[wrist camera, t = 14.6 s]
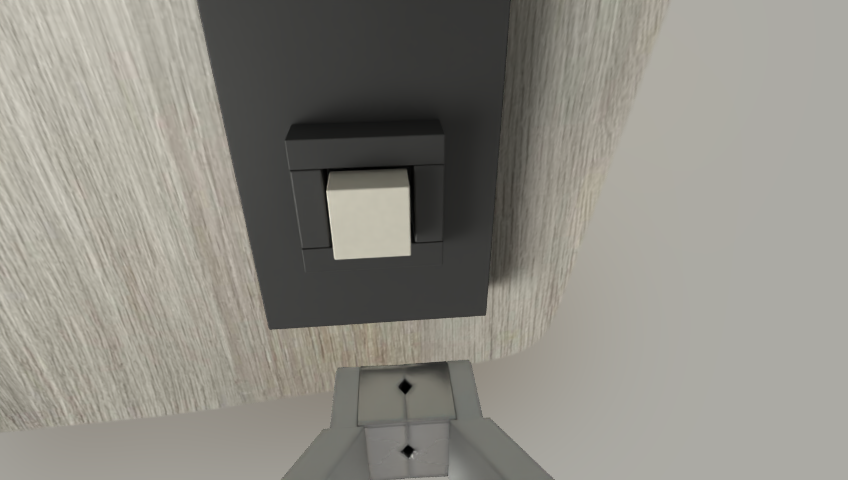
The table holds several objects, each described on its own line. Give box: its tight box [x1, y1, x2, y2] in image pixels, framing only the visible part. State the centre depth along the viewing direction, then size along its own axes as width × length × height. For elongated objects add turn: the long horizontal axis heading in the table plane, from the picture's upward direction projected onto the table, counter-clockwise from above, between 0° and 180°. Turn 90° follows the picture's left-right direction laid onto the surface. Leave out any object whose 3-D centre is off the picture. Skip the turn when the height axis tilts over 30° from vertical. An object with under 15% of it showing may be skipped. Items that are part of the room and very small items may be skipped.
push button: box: [326, 168, 411, 260], centre depth 19 cm, size 3×3×2 cm
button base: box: [197, 0, 511, 330], centre depth 21 cm, size 11×15×4 cm
